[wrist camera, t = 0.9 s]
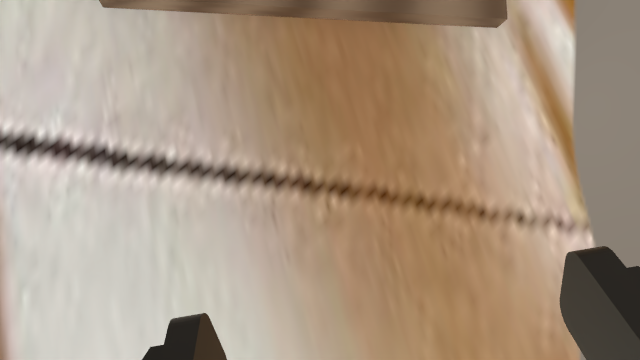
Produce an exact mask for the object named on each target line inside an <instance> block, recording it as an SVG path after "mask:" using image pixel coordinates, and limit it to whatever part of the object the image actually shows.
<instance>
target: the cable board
mask: <svg viewBox="0 0 640 360" xmlns="http://www.w3.org/2000/svg"><path fill="white" fill-rule="evenodd" d="M99 1H100V3H101V4H102V6H103V7H107V8H126V9H146V10H165V11H184V12H204V13H223V14H242V15H261V16H281V17H300V18H319V19H339V20H358V21H377V22H396V23H416V24H435V25H454V26H474V27H493V28H497V27H498V26H500V25H501V24H502V23H503V22H504V21H505V20H507V6H506V0H99Z"/></svg>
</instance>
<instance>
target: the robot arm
mask: <svg viewBox="0 0 640 360" xmlns="http://www.w3.org/2000/svg"><path fill="white" fill-rule="evenodd" d="M560 308H561V313H562V316H563V319H564V322H565V324H566V326H567V328H568V330H569V332H570V333H571V335H572V337H573V338H574V340H575V342H576V343H577V345H578V347H579V348H580V350H581V352H582V353H583V355H584V357H585V358H586V360H640V267H639V266H636V267H629V268H626V267H625V266H624V264H623V263H622V262H621V261H620V259H619V258H618V257H617V256H616V255H615V253H614V252H613V251H612V250H611V249H609V248H608V247H605V246H602V247H596V248H590V249H584V250H578V251H572V252H569V253H568V254H567V255H566V259H565V266H564V273H563V280H562V287H561V294H560ZM142 360H227V359H226V355H225V352H224V350H223V348H222V346H221V343H220V341H219V339H218V337H217V334H216V332H215V330H214V327H213V325H212V323H211V321H210V318H209V316H208V315H207V314H206V313H203V314H197V315H191V316H185V317H179V318H174V319H172V320H171V321H170V323H169V326H168V329H167V334H166V338H165V342H164V345H160V346H154V347H150V349H149V350H148V352H147V353H146V355H145V356H144V358H143V359H142Z"/></svg>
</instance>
